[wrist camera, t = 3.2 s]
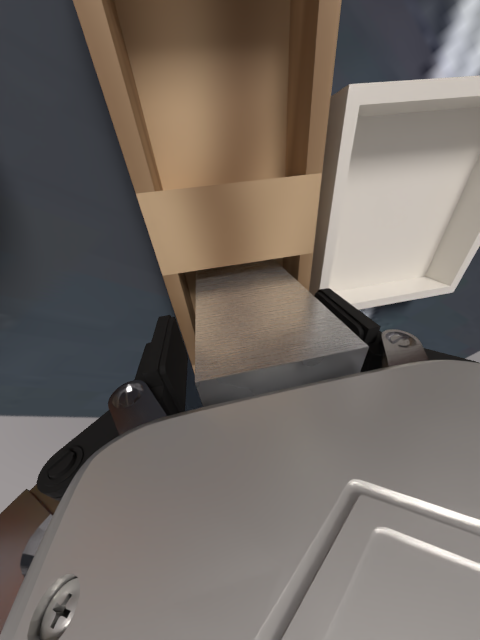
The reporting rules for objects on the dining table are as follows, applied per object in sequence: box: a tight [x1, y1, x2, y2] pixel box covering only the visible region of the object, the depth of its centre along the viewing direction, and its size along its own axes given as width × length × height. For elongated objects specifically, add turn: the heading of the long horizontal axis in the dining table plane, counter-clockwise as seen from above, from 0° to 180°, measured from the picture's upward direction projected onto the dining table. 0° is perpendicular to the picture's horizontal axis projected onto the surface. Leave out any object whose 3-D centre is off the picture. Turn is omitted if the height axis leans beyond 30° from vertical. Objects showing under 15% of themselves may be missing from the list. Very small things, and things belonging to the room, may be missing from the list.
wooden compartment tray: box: [73, 0, 341, 374], centre depth 11 cm, size 8×20×3 cm, turn 5°
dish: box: [309, 76, 480, 310], centre depth 12 cm, size 11×11×2 cm
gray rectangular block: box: [195, 259, 369, 407], centre depth 11 cm, size 5×5×9 cm
